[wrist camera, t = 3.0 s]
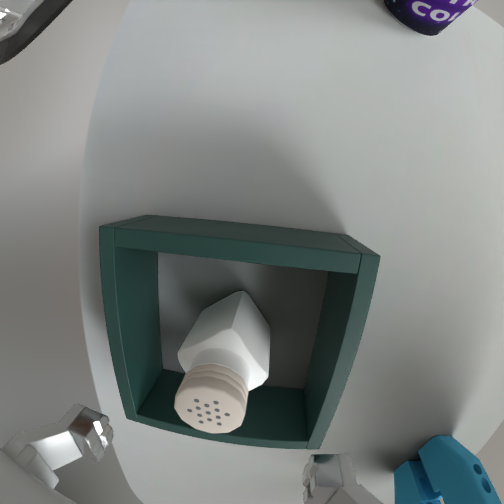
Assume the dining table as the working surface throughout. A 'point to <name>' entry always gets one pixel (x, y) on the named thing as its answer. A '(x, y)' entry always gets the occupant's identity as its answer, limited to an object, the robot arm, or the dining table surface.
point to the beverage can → (427, 13)
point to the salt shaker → (222, 364)
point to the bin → (245, 250)
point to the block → (444, 476)
